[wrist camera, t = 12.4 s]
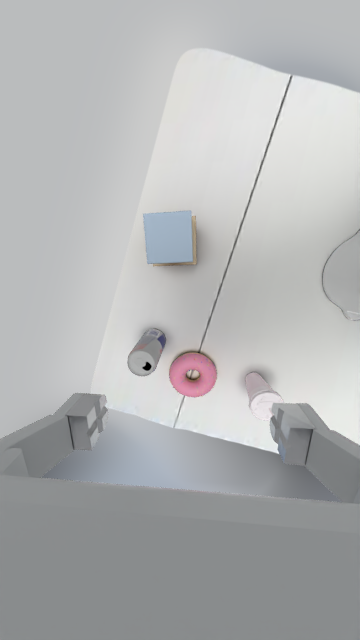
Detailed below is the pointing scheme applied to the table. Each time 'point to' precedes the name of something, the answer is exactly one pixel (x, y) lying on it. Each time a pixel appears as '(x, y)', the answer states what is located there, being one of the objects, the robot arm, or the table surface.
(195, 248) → the tower top
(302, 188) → the table surface
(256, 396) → the smoothie
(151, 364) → the energy drink
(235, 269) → the table surface
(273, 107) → the table surface
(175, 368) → the doughnut
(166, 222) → the blue block
